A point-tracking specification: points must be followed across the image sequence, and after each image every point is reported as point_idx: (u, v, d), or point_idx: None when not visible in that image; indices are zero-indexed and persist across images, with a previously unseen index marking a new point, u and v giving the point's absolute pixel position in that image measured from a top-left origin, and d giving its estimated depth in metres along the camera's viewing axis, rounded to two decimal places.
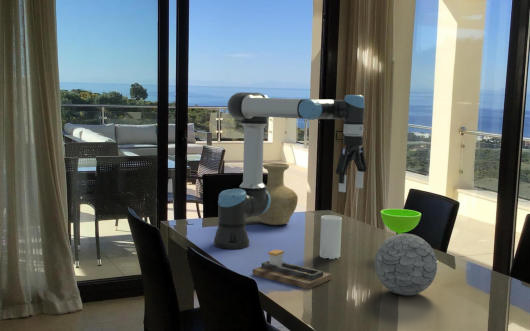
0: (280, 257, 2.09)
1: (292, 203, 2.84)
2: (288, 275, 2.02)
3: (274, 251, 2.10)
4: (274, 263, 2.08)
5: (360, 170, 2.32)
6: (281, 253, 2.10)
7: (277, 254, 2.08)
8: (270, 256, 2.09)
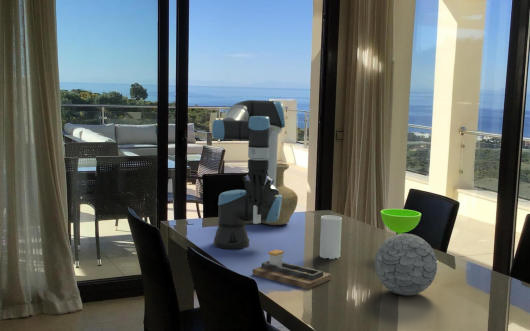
0: (280, 257, 2.09)
1: (292, 203, 2.84)
2: (288, 275, 2.02)
3: (274, 251, 2.10)
4: (274, 263, 2.08)
5: None
6: (281, 253, 2.10)
7: (277, 254, 2.08)
8: (270, 256, 2.09)
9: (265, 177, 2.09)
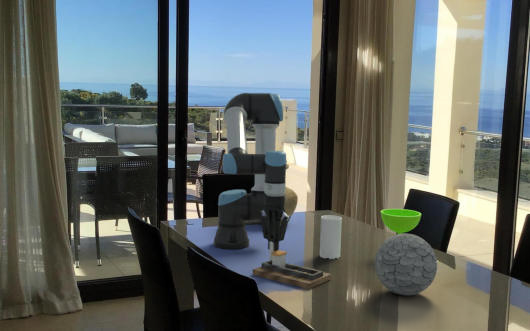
0: (283, 258, 2.08)
1: (292, 203, 2.84)
2: (288, 275, 2.02)
3: (277, 252, 2.09)
4: (277, 264, 2.08)
5: None
6: (284, 254, 2.09)
7: (280, 255, 2.07)
8: (273, 257, 2.08)
9: (282, 213, 2.06)
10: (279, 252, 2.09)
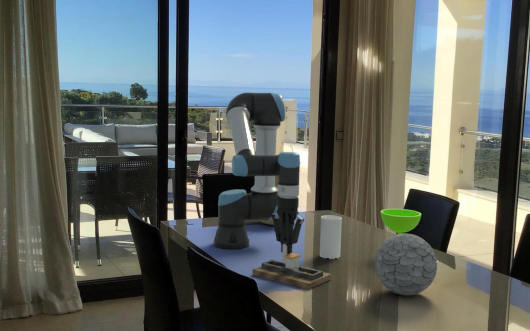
0: (296, 261, 2.05)
1: None
2: (288, 275, 2.02)
3: (290, 255, 2.06)
4: (290, 267, 2.04)
5: None
6: (297, 257, 2.05)
7: (294, 258, 2.03)
8: (286, 260, 2.05)
9: (295, 216, 2.02)
10: (292, 255, 2.05)
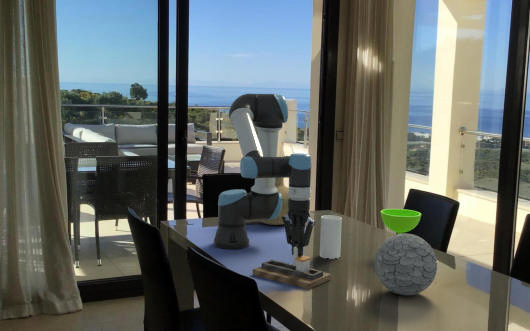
0: (307, 263, 2.02)
1: None
2: (288, 275, 2.02)
3: (301, 257, 2.03)
4: (301, 269, 2.01)
5: None
6: (308, 259, 2.03)
7: (304, 260, 2.01)
8: (297, 262, 2.02)
9: (307, 218, 1.99)
10: (303, 257, 2.02)
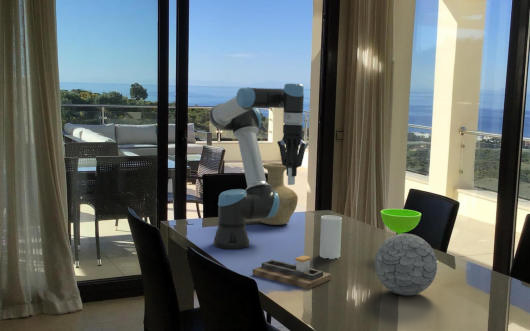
0: (307, 263, 2.02)
1: (292, 203, 2.84)
2: (288, 275, 2.02)
3: (301, 257, 2.03)
4: (301, 269, 2.01)
5: None
6: (308, 259, 2.03)
7: (305, 260, 2.01)
8: (297, 262, 2.02)
9: (299, 141, 2.23)
10: (303, 257, 2.02)
